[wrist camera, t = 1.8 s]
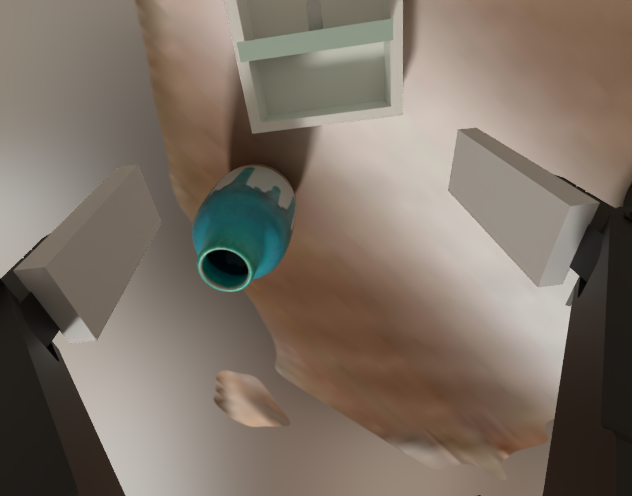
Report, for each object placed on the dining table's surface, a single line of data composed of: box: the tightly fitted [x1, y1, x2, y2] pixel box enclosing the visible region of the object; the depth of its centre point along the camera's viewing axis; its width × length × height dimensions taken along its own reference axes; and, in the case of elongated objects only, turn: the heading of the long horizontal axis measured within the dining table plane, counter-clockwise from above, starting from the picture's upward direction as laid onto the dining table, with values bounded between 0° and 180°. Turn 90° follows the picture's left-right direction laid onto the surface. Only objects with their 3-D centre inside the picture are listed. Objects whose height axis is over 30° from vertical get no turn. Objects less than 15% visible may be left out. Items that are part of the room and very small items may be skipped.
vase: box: [192, 164, 296, 292], centre depth 39 cm, size 11×11×19 cm
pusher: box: [237, 0, 393, 62], centre depth 32 cm, size 5×13×10 cm, turn 97°
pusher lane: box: [223, 0, 403, 134], centre depth 33 cm, size 22×16×8 cm
